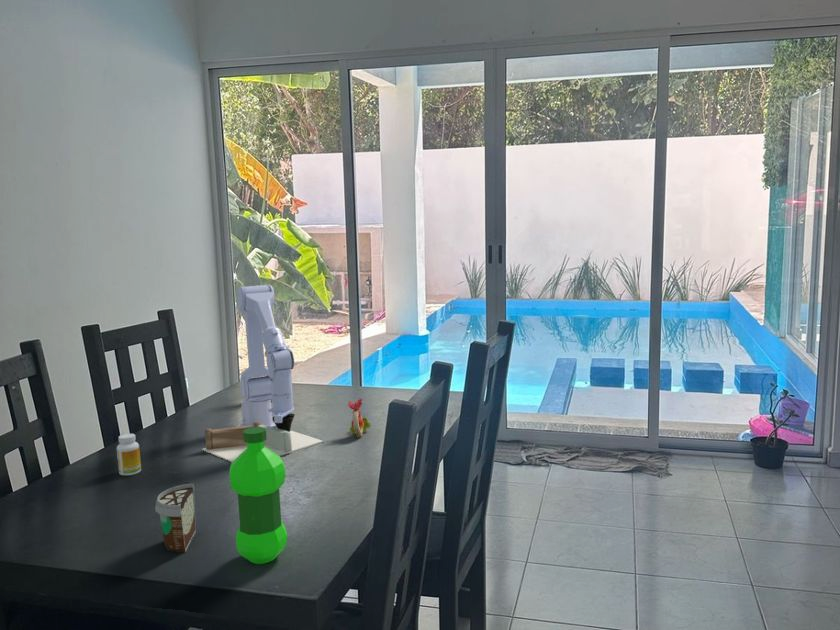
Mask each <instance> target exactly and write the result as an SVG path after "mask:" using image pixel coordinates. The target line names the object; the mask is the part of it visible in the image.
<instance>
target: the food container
mask: <svg viewBox="0 0 840 630" xmlns="http://www.w3.org/2000/svg"><path fill="white" fill-rule="evenodd" d="M195 506H196V504H195V484H194V483H186V484H181V485H176V486H173V487H170V488H168V489H166V490H163V491H162V492H160V493H159V494H158V496H157V498H156V500H155V508H154V510H155V512H156V513H157V514H158V515H159V519H160V524H161V531H162V537H163V542H164V547H166V548H167V549H168V551H169V550H171V551H170V552H173V551H177V552H176V553H186V552H187V550H188V548H189V545H190V544H191V542H192V540H193V538H194V536H195V534H196V531H197V528H196V527H197V526H196V508H195ZM192 537H193V538H192ZM191 539H192V540H191ZM166 548H165V549H166ZM167 549H166V550H167Z"/></svg>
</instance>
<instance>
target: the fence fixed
mask: <svg viewBox="0 0 840 630" xmlns="http://www.w3.org/2000/svg"><path fill="white" fill-rule="evenodd" d="M253 424H254V427H258V426H259V425H261V422H254V423H253ZM247 428H252V425H251V426H235V427H234V426H233V427H223V428H215V429H212V428H205V429H204V436H205V448H206V449H207V450H210V449H215V448H223V447H232V446H241V445H247V443H246V442H244V436H243V430H245V429H247Z"/></svg>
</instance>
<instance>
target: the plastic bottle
mask: <svg viewBox="0 0 840 630" xmlns="http://www.w3.org/2000/svg"><path fill="white" fill-rule="evenodd" d="M243 436H244V442H246V443H247V449H246V450H245V451H243V452H242V453H241V454H240V455H239V456H238V457H237V458H236V459H235V460H234V461H233V462H231V463H230V467H229V472H228V473H229V485H230V486H231V490H232V491H233V492H235V493H236V494H237V501H238V502H237V503H238V513H239V515H238V517H239V526H238V529H237V532H236V534H235V545H236V547H235V548H236V550H237V552H238V555H241V556H242V557H243V558H245V559H246V560H247V561H249V562H250V563H252V564H254V563H255V565H262V564H263V565H264V564H266V563H271V562H273V561H274V560H275V559H276V558H277V557H278V556H279V555H280V554H281V553H282V552H283V551H284V550H285V548H286V546H287V544H288V533H287V529H286V526H285V524H284V522H283V521H282V512H281V497H280V496H281V495H280V489H281V487H283V485H284V484H285V480H286V467H285V463H284V462H283V460H282V456H278V455H276V454H275V453H274V452H272V451H271V450H269V449H267V448H266V447H264V441H265V440H267V438H266V428H263V427H252V428H247V429H245V430H243ZM270 561H271V562H270Z"/></svg>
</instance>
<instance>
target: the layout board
mask: <svg viewBox="0 0 840 630" xmlns="http://www.w3.org/2000/svg"><path fill="white" fill-rule="evenodd" d="M290 432H291V444H292V451H290V452H286V451H284V450H281V449H277V448H274V447H271V446H267V445H264V447H266V448H267V449H269V450H271V451H272V452H274V453H275V454H276V455H278V456H279V457H282V456H284V455H287V454H290V453H294V452H298V451H300V450H304V449H306V448H309V447H313V446H315V445H319V444H322V443H324V440H321V439H318V438H316V437H312V436H309V435H307V434H303V433H300V432H297V431H294V430H291V429H290ZM201 449H202V451H203V450H204V451H203V452H205V451H206V452H205V453H209V454H210V453H211V455H213V456H215V457H218V458H220V459H222V458H223V460H225V461H227V460H228V461H227V462H231V463H232V462H233V461H234V460H235V459H236V458H237V457H238V456H239V455H240V454H241V453H242V452H243V451H245V450H246V449H247V445H241V446H232V447H223V448H215V449H210V450H207V449H206V447H204V448H201Z"/></svg>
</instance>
